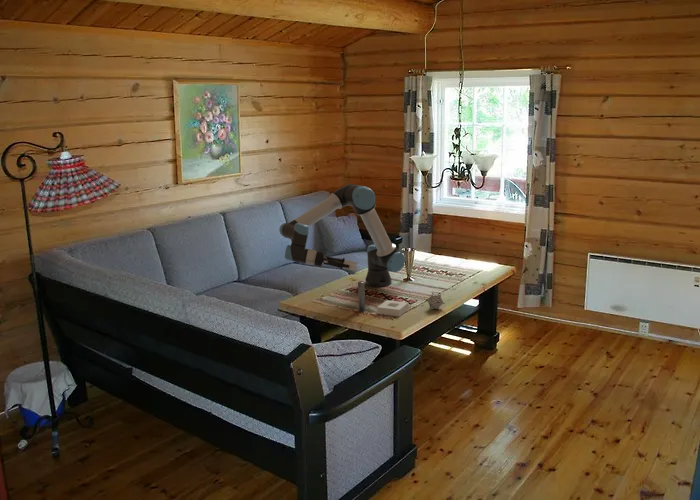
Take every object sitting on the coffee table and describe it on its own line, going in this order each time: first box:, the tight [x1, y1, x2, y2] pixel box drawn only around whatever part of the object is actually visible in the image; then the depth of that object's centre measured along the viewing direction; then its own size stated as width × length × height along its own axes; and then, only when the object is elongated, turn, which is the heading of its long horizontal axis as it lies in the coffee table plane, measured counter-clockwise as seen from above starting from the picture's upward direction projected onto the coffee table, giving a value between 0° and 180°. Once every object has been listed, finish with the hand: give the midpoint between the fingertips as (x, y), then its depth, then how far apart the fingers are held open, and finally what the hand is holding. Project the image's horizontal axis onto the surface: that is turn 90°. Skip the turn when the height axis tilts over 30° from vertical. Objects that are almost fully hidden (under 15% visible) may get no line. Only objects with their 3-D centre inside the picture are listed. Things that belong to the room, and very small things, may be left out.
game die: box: [425, 292, 445, 311], centre depth 343 cm, size 9×8×10 cm
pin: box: [357, 280, 366, 312], centre depth 345 cm, size 3×3×15 cm
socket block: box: [376, 300, 410, 317], centre depth 343 cm, size 12×12×4 cm
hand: (356, 266), depth 345 cm, fingers open, 13 cm apart
